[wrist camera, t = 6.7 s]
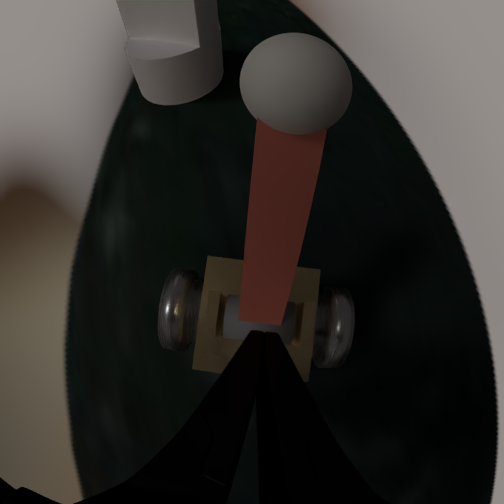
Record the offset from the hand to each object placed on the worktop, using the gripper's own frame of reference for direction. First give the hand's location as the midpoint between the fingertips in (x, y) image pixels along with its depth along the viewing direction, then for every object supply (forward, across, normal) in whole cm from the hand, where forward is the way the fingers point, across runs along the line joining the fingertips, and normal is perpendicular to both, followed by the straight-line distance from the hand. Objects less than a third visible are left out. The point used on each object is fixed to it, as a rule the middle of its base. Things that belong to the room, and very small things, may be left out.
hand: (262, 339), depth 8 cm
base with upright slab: (+24, +10, -9) cm, 28 cm away
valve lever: (+3, 0, +2) cm, 4 cm away
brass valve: (+8, 0, +7) cm, 11 cm away
